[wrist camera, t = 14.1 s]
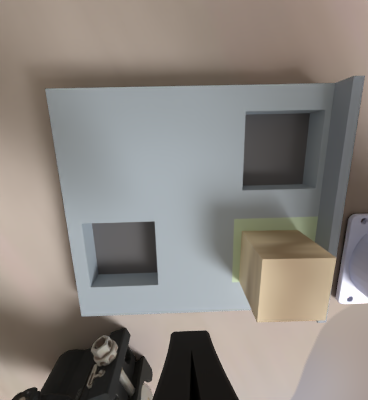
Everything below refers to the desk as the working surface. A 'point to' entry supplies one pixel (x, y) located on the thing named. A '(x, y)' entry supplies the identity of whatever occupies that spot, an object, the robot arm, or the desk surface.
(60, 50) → the desk surface
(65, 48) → the desk surface
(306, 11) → the desk surface
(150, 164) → the board
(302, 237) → the block
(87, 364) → the scope
